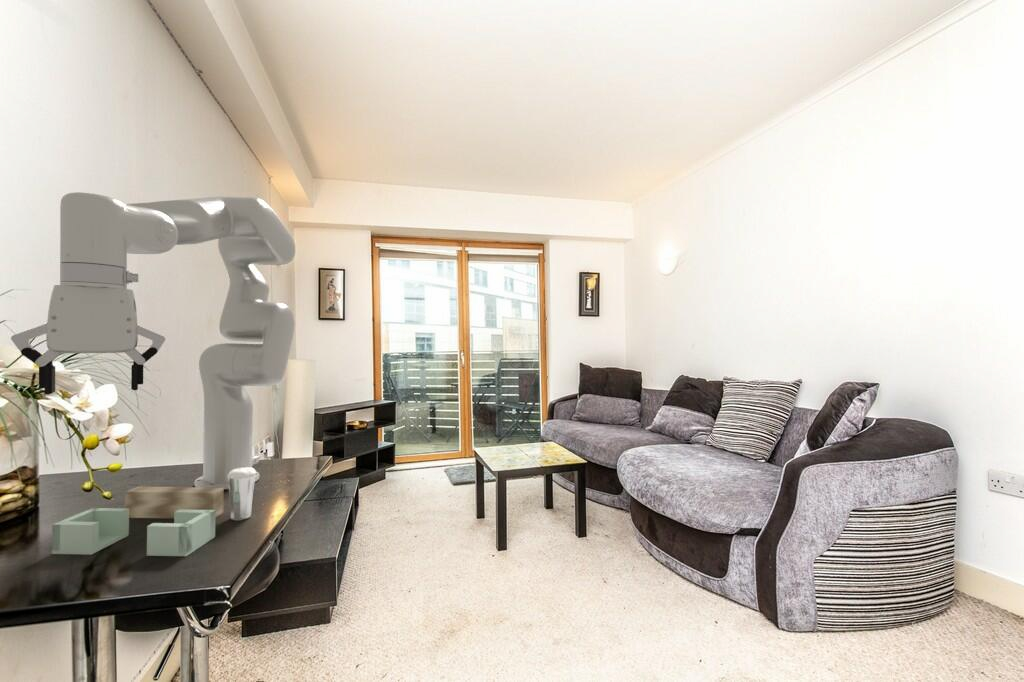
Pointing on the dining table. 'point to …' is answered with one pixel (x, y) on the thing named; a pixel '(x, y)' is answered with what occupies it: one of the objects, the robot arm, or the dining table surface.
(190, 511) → the endcap
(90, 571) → the dining table surface
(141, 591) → the dining table surface
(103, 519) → the endcap
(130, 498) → the slat
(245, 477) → the milkshake
